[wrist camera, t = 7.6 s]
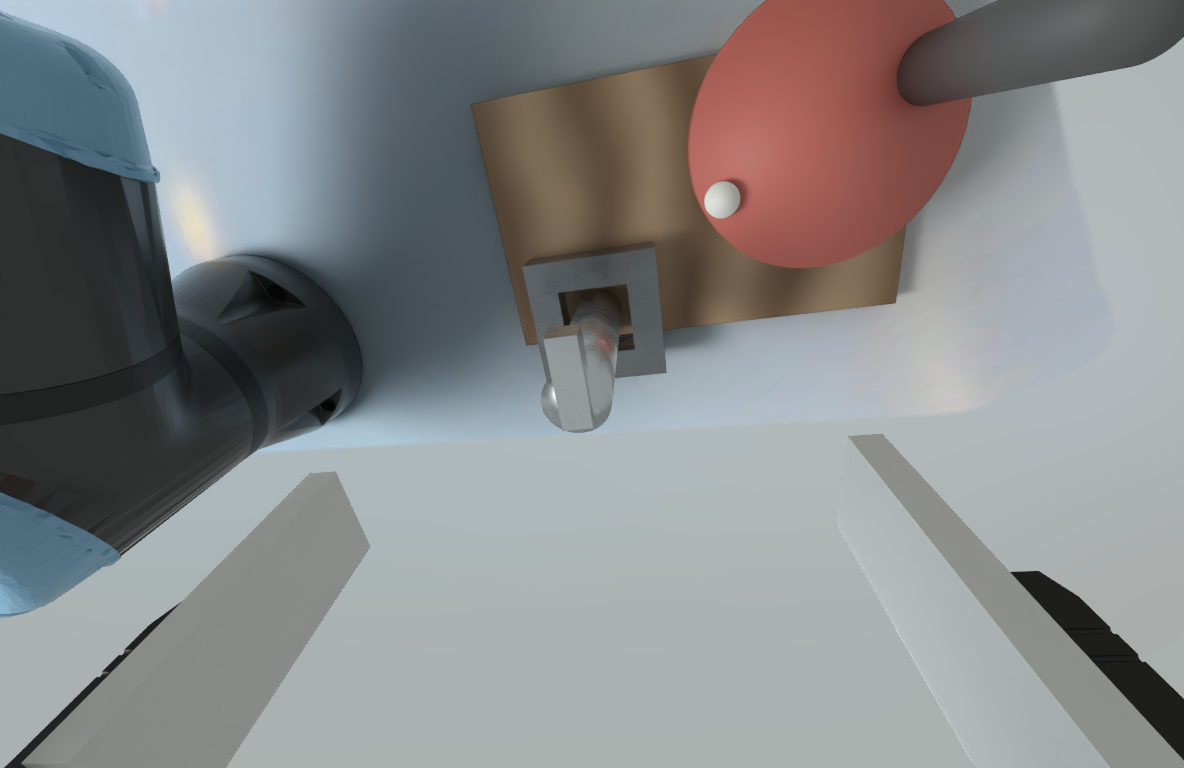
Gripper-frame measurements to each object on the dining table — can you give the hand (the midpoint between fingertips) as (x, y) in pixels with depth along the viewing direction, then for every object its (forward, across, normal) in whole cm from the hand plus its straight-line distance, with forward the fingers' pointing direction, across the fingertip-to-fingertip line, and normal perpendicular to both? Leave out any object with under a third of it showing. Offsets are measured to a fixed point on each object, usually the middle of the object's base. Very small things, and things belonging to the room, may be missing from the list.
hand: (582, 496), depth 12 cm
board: (+24, +6, +4) cm, 25 cm away
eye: (+23, -1, -2) cm, 23 cm away
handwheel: (+19, +12, +7) cm, 24 cm away
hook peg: (+23, -1, -2) cm, 23 cm away
